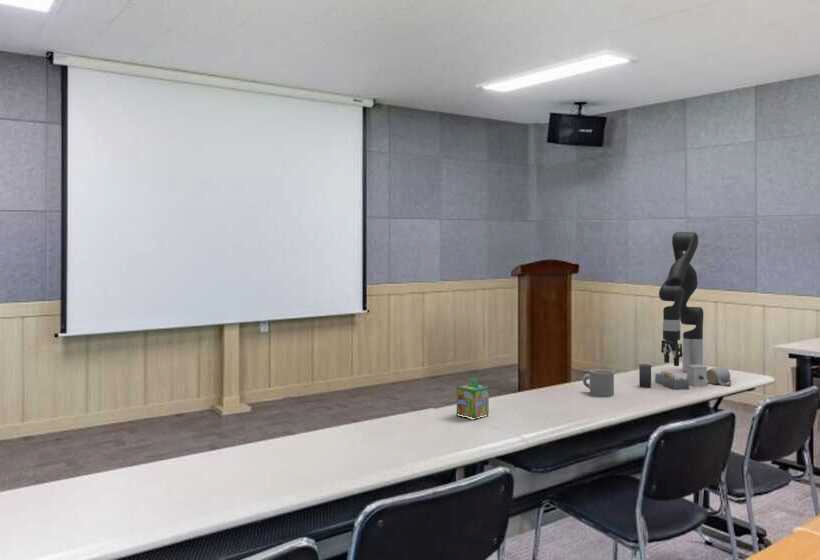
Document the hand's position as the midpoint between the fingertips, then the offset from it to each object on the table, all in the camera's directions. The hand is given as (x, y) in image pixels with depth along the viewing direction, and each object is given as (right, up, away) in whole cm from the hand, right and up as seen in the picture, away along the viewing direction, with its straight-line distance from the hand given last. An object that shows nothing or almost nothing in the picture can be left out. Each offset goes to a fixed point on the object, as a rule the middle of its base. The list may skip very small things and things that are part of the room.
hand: (671, 364), depth 289 cm
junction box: (+12, -10, +1) cm, 16 cm away
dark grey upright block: (-13, -10, -1) cm, 16 cm away
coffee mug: (-38, -11, -13) cm, 41 cm away
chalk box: (-96, -14, -47) cm, 108 cm away
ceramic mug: (+23, -10, +2) cm, 25 cm away
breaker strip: (0, -10, +1) cm, 10 cm away
